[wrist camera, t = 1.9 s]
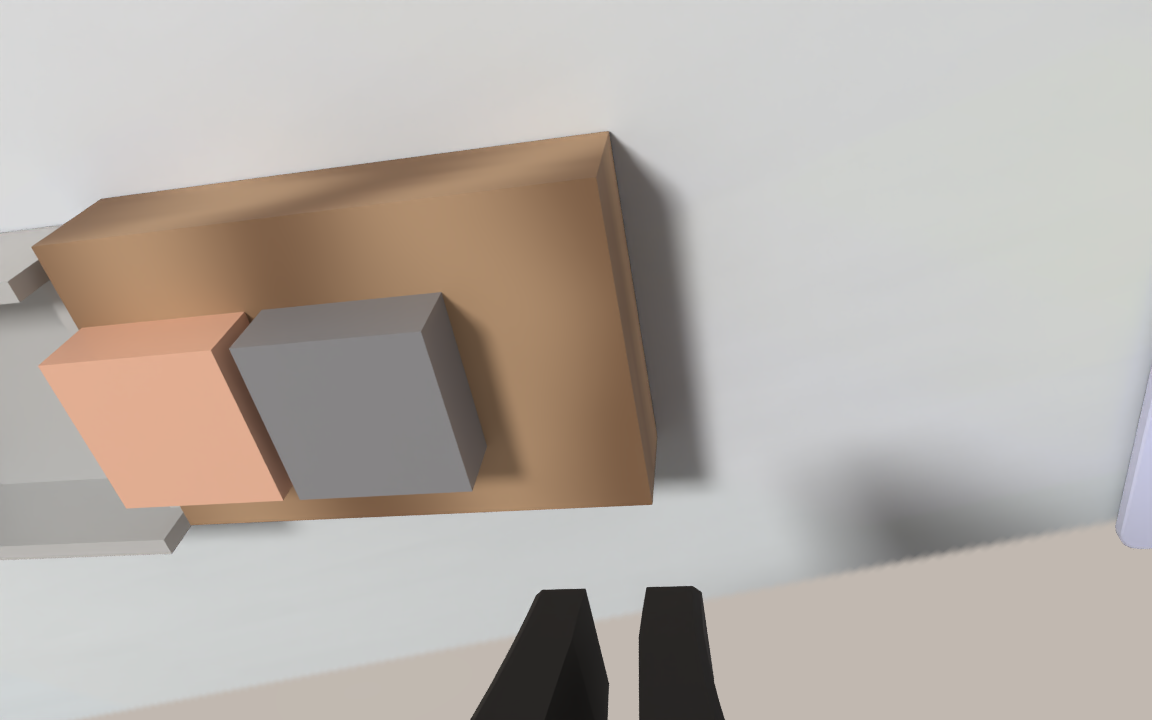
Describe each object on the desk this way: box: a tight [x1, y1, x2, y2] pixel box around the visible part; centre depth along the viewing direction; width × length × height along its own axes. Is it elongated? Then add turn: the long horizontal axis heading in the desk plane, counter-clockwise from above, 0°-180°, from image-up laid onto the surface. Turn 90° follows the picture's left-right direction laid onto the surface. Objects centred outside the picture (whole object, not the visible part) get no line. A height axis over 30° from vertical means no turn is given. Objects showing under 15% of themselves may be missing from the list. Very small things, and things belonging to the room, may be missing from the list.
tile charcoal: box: [229, 292, 487, 500], centre depth 18 cm, size 4×4×2 cm
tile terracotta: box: [38, 312, 293, 509], centre depth 19 cm, size 4×4×2 cm
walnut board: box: [31, 131, 657, 525], centre depth 20 cm, size 12×8×2 cm, turn 100°
